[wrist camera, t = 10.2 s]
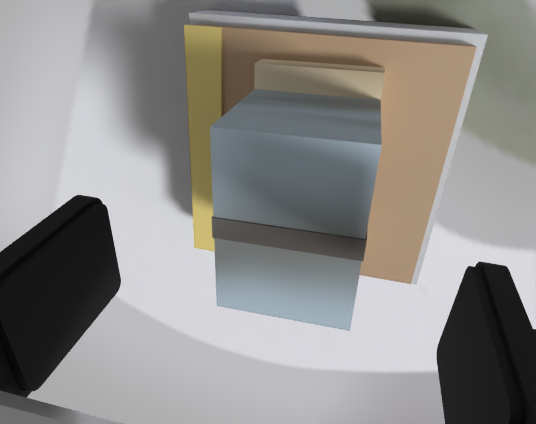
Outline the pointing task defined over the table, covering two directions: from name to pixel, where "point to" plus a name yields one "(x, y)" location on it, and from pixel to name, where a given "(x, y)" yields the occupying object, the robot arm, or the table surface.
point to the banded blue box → (296, 190)
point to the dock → (392, 111)
